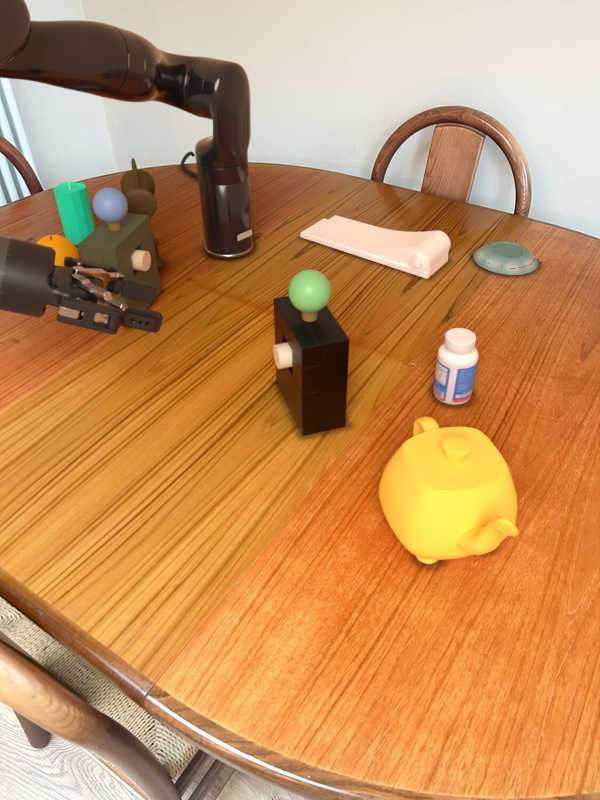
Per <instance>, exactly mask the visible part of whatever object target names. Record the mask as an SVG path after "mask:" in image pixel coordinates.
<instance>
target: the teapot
mask: <svg viewBox="0 0 600 800" xmlns="http://www.w3.org/2000/svg"><path fill="white" fill-rule="evenodd" d="M412 428H413V429H412V430H413V431H412V437H409V438H408V439H407V440H405V441H404V442H403V443H402V444H401V445H400V446H399V447H398V449H397V450H396V451H395V453H394V454H393V455H392V456H391V458H390V459H389V460H388V462H387V463H386V465H385V468H384V469H383V472H382V474H381V477H380V480H379V481H380V482H379V486H378V499H379V502H380V503H379V504H380V506H381V509H382V512H383V515H384V517H385V519H386V522H387V523H388V525H389V527H390V529H391V530H392V531H393V533H394V535H395V536H396V538H397V539H398V541H399V542H400V543H401V544H402V546H403V547H404V548H405V549H406V550H407V551H408V552H409V553H410V554H412V555H414V556H415V557H416V559H417V560H418V561H419V562H421V563H422V564H426V565H432V564H434V563H436V562H438V561H441V560H442V561H443V560H445V561H446V560H455V559H461V558H466V557H471V556H473V555H474V556H481V555H486V554H488V553H490V552H493V551H494V550H496V549H497V548H498V547H499V546H500V544H501V542H503V541H504V540H505V539H507V537H508V536H510V537H518V536H519V534H520V532H519V529H518V527H517V526H516V521H517V516H518V514H517V513H518V495H517V491H516V487H515V483H514V480H513V479H514V478H513V476H512V473H511V470H510V468H509V466H508V464H507V462H506V460H505V458H504V457H503V455H502V454H501V452H500V451H499V449H498V448H497V446H496V445H495V444H494V443H493V441H492V440H491V439H490V438H489V437H488V436H487V435H486V434H485V433H484V432H482V431H481V430H480V429H477V428H474V427H469V426H449V427H440V426H439V423H438V422H437V421H436V419H434V418H433V417H431V416H421V417H418V418H417V419H415V421H414V423H413V427H412Z"/></svg>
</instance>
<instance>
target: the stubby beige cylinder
mask: <svg viewBox="0 0 600 800" xmlns="http://www.w3.org/2000/svg"><path fill="white" fill-rule="evenodd" d="M272 353H273V359H274V363H275V367H276V366H277V368H278V369H283V368H288V367H292V349H291V348H290V346H289V344H288V342H286V343H281V344H276V345H275V344H274V345H273V346H272Z"/></svg>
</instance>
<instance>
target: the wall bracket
mask: <svg viewBox="0 0 600 800" xmlns="http://www.w3.org/2000/svg"><path fill="white" fill-rule="evenodd" d="M300 238H302V239H305V240H308V241H311V242H315V243H317V244H320V245H322V246H326V247H329V248H332V249H335V250H338V251H342V252H345V253H348V254H350V255H353V256H356V257H359V258H363V259H366V260H369V261H372V262H374V263H377V264H380V265H384V266H387V267H390V268H393V269H395V270H398V271H402V272H404V273H408V274H411V275H414V276H417V277H419V278H422V279H423V278H424V279H426V280H428V279H430V277H432V276H433V275H434V274H435V273H436V272H437V271H438V270H439V269H441V268H442V267H443V266H444V265H445V264H446V263H448V261H449V252H450V250H451V238H450V237H449V236H448V234H447V233H445V232H444V231H442V230H439V229H437V230H427V231H405V230H404V231H403V230H395V229H390V228H385V227H384V228H383V227H380V226H376V225H372V224H370V223H369V224H368V223H365V222H362V221H358V220H354V219H351V218H347V217H343V216H340V215H337V214H335V215H333V216H332V217H330V218H329V219H328V218H324V217H323V218H322V219H320V220H319V221H317V222H315V223H313V224H312V225H311V226H309V227H308V228H306V229H304V230H302V231H301V232H300Z"/></svg>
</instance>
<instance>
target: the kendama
mask: <svg viewBox="0 0 600 800" xmlns="http://www.w3.org/2000/svg"><path fill="white" fill-rule="evenodd" d="M130 163H131V170H127V172H124V174H123V175H122V177H121V179H120V191H121V192H122V193H123V194H124V196H125V197H126V199H127V202H128V211H127V213H134V214H142V215H149V217H150V219H151V218H153V217H154V216H155V214H156V212H157V210H158V202H157V199H156V196H155V192H156V184H155V181H154V177H152V175H151V174H150V173H149V172H148V171H145V170H143V169H138V167H137V163H136V160H135V158H134V157H132V158H131V161H130ZM152 235H153V241H154V247H155V253H156V260H157V266H158V270H159V269H162V267H163V266H164V265H165V259H164V258H163V256H161V255H160V251H159V246H160V241H159V239H158V238H157V237H156V236H155V234H154V233H153V231H152Z"/></svg>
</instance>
